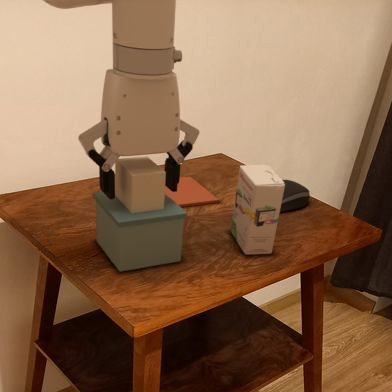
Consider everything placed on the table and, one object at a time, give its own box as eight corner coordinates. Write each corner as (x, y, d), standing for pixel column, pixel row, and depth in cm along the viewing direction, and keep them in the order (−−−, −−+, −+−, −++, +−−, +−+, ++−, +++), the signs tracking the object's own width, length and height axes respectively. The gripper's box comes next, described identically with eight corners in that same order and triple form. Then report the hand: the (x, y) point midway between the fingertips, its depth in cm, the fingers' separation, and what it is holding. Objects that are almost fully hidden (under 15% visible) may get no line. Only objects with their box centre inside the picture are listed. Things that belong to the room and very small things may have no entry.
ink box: (229, 231, 92) (238, 163, 85) (256, 230, 94) (267, 163, 86) (244, 255, 86) (255, 183, 79) (272, 254, 87) (287, 183, 80)
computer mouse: (246, 203, 103) (249, 183, 100) (290, 191, 109) (294, 172, 107) (272, 217, 99) (276, 196, 96) (316, 204, 105) (321, 184, 103)
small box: (131, 213, 76) (132, 175, 72) (115, 195, 80) (115, 158, 77) (163, 209, 78) (165, 172, 74) (146, 192, 82) (147, 156, 79)
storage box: (118, 273, 78) (118, 222, 73) (94, 240, 85) (92, 192, 80) (183, 261, 83) (187, 213, 78) (155, 232, 90) (157, 185, 85)
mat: (161, 210, 97) (161, 206, 96) (135, 185, 105) (135, 182, 104) (218, 202, 102) (219, 199, 101) (190, 179, 110) (190, 176, 109)
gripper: (190, 54, 73) (182, 177, 84) (66, 54, 66) (74, 188, 77) (217, 66, 68) (204, 195, 79) (85, 68, 61) (91, 209, 72)
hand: (140, 192), depth 78 cm, fingers open, 9 cm apart
